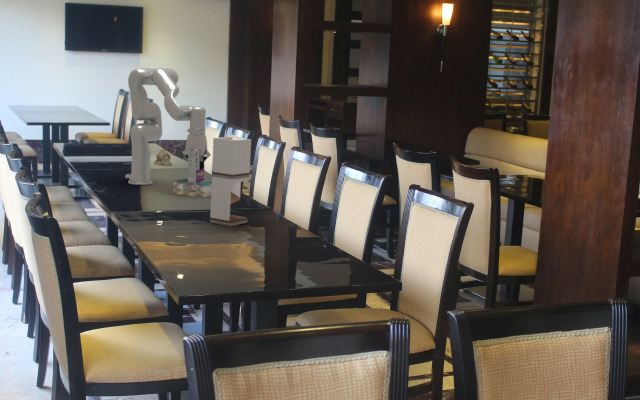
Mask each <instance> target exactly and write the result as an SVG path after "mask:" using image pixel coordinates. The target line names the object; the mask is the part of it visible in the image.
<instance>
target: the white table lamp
mask: <svg viewBox="0 0 640 400" xmlns="http://www.w3.org/2000/svg"><path fill="white" fill-rule="evenodd" d="M251 147H252V139H251V138H248V139H246V138H245V139H233V136H227V137H223V136H221V137H213V138H212V164H211V166H212V167H211V168H212V169H211V181H212V187H211V196H210V213H209V214H210V215H209V216H210V218H209V223H213V224H217V225H221V226H222V225H223V226H229V227H232V226H233V227H234V226H236V225H241V224H246V223H248V217H247V216H246V217H245V216H241V215H240V216H239V215H234V214H231V205H232V204H234V203H237V202H238V201H240V199H241V187H242V185H241V183H242V182H249V181H250V177H251V176H250V171H251V170H250V169H251V152H252V150H251V149H252V148H251Z"/></svg>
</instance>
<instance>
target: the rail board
mask: <svg viewBox="0 0 640 400" xmlns="http://www.w3.org/2000/svg"><path fill="white" fill-rule="evenodd" d="M211 187H212V180H203V181H200V182H198V183H196V187H195V183H191V182H188V177H184V178H180V179H176V180H174V181H173V190H172V191H171V195H178V196H180V195H181V196H187V197H195V198H204V199H205V198H209V197H211Z"/></svg>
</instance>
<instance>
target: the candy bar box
mask: <svg viewBox="0 0 640 400" xmlns="http://www.w3.org/2000/svg"><path fill="white" fill-rule="evenodd" d="M204 156H206V155H204ZM200 162H201V159H200V156H199V150H198V149H189V150H188V160H187V178H188V182H191V183H194V184H197V183H200V182H204V181H205V168H204V169H202V170H200Z"/></svg>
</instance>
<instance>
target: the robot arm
mask: <svg viewBox="0 0 640 400" xmlns="http://www.w3.org/2000/svg"><path fill="white" fill-rule="evenodd" d="M178 82H179V74H178V72H177V71H176V70H175V69H172V68H162V67H161V68H148V67H140V68H139V67H138V68H135V69H133V70H131V71H130V73H129V75H128V77H127V84H128V89H129V93H130V94H129V95H130V107H131V115H132V117H133V119H134V120H135V121H140V122H141V121H142V122H141V123H135V124H134V125H132V126H131V128H130V132H129V133H130V134H129V135H130V140H131V173H126V174H125V176H124V178H125V179H129V180H128V184H129V185H134V186H135V185H137V186H147V185H153V183H154V182H153V181H152V180H151V147H150V145H149V143H148V142H156V141H159V140H161V138H162V136H163V120H162V111H161V108H160V106H159V104H157V102H156V103H155V102H150V101H149V99H148V93H147V90H146V88H145V87H144V86H156V88H157V89H158V90H159V91H160V93H161V94H162V96H163V97H164V99H163V105H164V106H163V107H164V108H165V111H166V112H167V114H168V115H169V116H170V117H171V118H172V119H173V120H174V121H176V122H177V121H178V122H184V121H185V122H189V129H187V133H189V134H187V136H186V141H185V149H184V150H183V151H182V154H183V156H184V157H185V158H186V160H187V161H188V150H189V149H198V150H199V156H200V159H201V162H200V170H202V169H204V170H205V162H206V161H207V159H209V158H210V157H211V152H209V150H208V140H207V135H206V112H207V111H206V108H205V107H202V106H201V107H200V106H194V105H179V104H178V102H177V101H176V100H175V98H176V97H177V96H178V95H179V93H180V88H179V87H178V85H177V84H178ZM144 121H147V122H145V123H144ZM204 155H205V156H204Z"/></svg>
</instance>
